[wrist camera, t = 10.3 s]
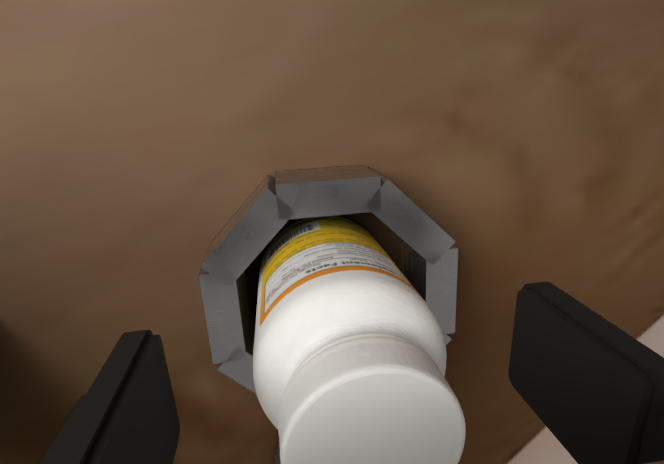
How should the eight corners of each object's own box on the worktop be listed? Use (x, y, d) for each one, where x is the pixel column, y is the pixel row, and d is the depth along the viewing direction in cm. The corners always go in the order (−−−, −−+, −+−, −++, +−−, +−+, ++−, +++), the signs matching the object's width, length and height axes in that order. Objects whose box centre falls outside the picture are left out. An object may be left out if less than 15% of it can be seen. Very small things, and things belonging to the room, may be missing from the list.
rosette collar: (200, 176, 16) (184, 191, 13) (429, 159, 17) (461, 170, 14) (230, 378, 18) (223, 427, 16) (426, 352, 20) (452, 393, 17)
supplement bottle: (363, 337, 19) (450, 556, 10) (246, 316, 18) (219, 541, 8) (398, 228, 18) (539, 360, 8) (275, 198, 16) (280, 313, 7)
